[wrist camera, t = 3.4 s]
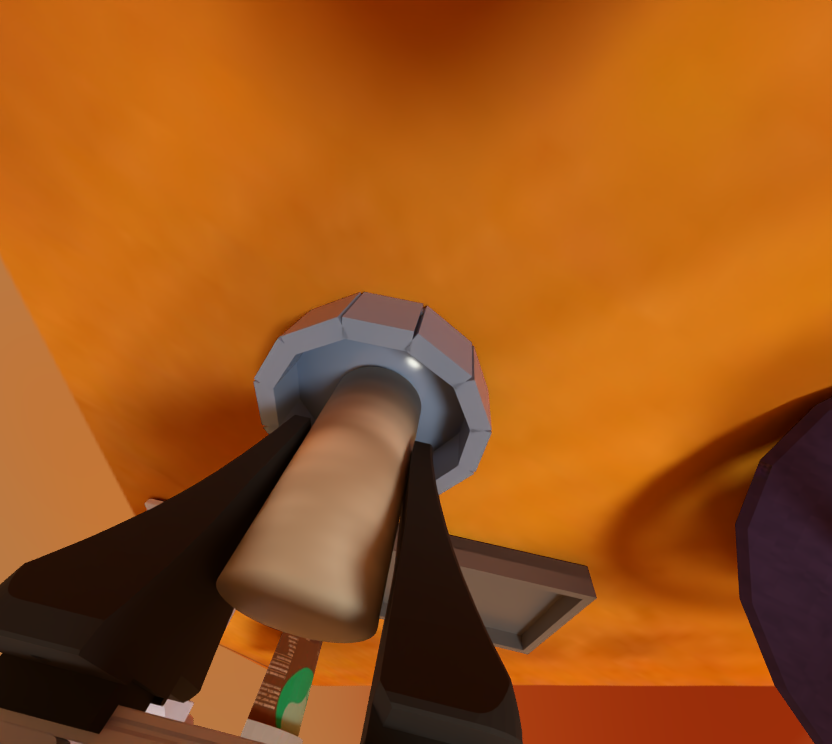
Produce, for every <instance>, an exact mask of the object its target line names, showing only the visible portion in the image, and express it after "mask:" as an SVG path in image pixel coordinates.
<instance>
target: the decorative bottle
mask: <svg viewBox="0 0 832 744" xmlns="http://www.w3.org/2000/svg"><path fill="white" fill-rule="evenodd" d="M735 529H736V546H737V563H738V580H739V597H740V601H741V603H742V606H743V608H744V611H745V613H746V615H747V618H748V620H749V623H750V625H751V628H752V630H753V633H754V635H755V638H756V640H757V643H758V645H759V648H760V650H761V653H762V655H763V658H764V660H765V663H766V665H767V668H768V670H769V673H770V675H771V678H772V680H773V682H774V685H775V687H776V688H777V689H778V691H779V692H780V694H781V695H782V697H783V698H784V700H785V701H786V702H787V704H788V706H789V707H790V708H791V710H792V711H793V713H794V714H795V716H796V717H797V719H798V720H799V722H800V723H801V724H802V726H803V727H804V729H805V730H806V732H807V733H808V735H809V736H810V738H811V739H812V740H813V742H814V743H815V744H832V397H831V398H829V399H827V400H825V401H823V402H821V403H819V404H817V405H815V406H814V407H813V408H812V409H811V410H810V411H809V412H808V413H807V414H806V415H805V416H804V417H803V418H802V419H801V420H800V421H799V422H798V423H797V424H796V425H795V426H794V427H793V428H792V429H791V430H790V431H789V432H788V433H787V434H786V435H785V436H784V437H783V438H782V439H781V440H780V441H779V442H778V443H777V444H776V445H775V446H774V447H773V448H772V449H771V450H770V451H769V452H768V453H767V454H766V455H765V456H764V457H763V458H762V459H761V460H760V462H759V464H758V467H757V469H756V472H755V475H754V477H753V480H752V482H751V485H750V487H749V490H748V493H747V495H746V498H745V500H744V503H743V506H742V508H741V511H740V513H739V516H738V519H737V521H736V524H735Z"/></svg>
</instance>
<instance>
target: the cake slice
mask: <svg viewBox="0 0 832 744" xmlns="http://www.w3.org/2000/svg"><path fill="white" fill-rule="evenodd" d="M321 645H322V641H318V640H312V639H308V638H303V637H299V636H295V635H292V634H289V633H285V632H283V633H282V635H281V638H280V640H279V643H278V645H277V648H276V650H275V653H274V655H273V658H272V660H271V662H270V665H269V667H268V670H267V673H266V675H265V677H264V680H263V682H262V685H261V687H260V690H259V692H258V695H257V697H256V699H255V702H254V705H253V707H252V709H251V712H250V714H249V717H248V719H247V721H246V724H245V726H244V729H243V731H242V734H241V736H240V737H243V738H247V739H251V740H254V741H258V742H262V743H266V744H302V743H303V740H302V739H301V738H299V737H298V735H299V731H300V727H301V722H302V719H303V715H304V711H305V707H306V703H307V700H308V696H309V692H310V688H311V684H312V680H313V676H314V672H315V668H316V665H317V661H318V657H319V653H320V649H321Z"/></svg>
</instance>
